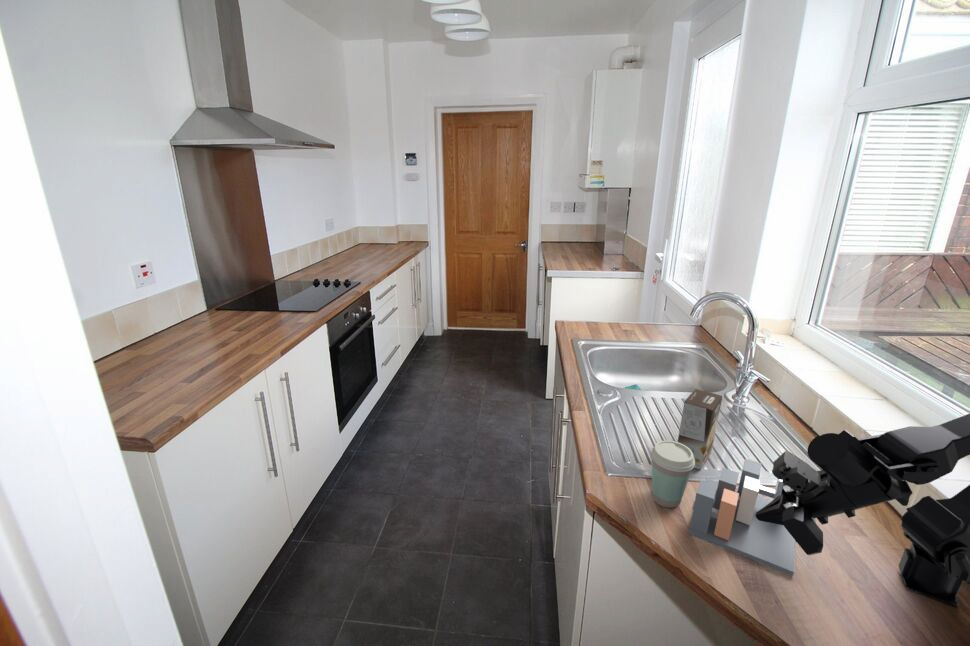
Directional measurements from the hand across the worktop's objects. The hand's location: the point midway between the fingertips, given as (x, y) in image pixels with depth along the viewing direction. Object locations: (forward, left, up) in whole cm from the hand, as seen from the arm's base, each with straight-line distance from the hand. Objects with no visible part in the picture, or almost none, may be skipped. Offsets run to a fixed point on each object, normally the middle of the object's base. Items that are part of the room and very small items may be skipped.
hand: (757, 516), depth 81 cm
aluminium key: (-2, -12, -6) cm, 14 cm away
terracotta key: (+7, 0, -6) cm, 9 cm away
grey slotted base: (+2, -6, -7) cm, 9 cm away
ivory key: (+4, -6, -6) cm, 9 cm away
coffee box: (+14, -24, -7) cm, 29 cm away
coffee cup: (+16, -5, -7) cm, 18 cm away
